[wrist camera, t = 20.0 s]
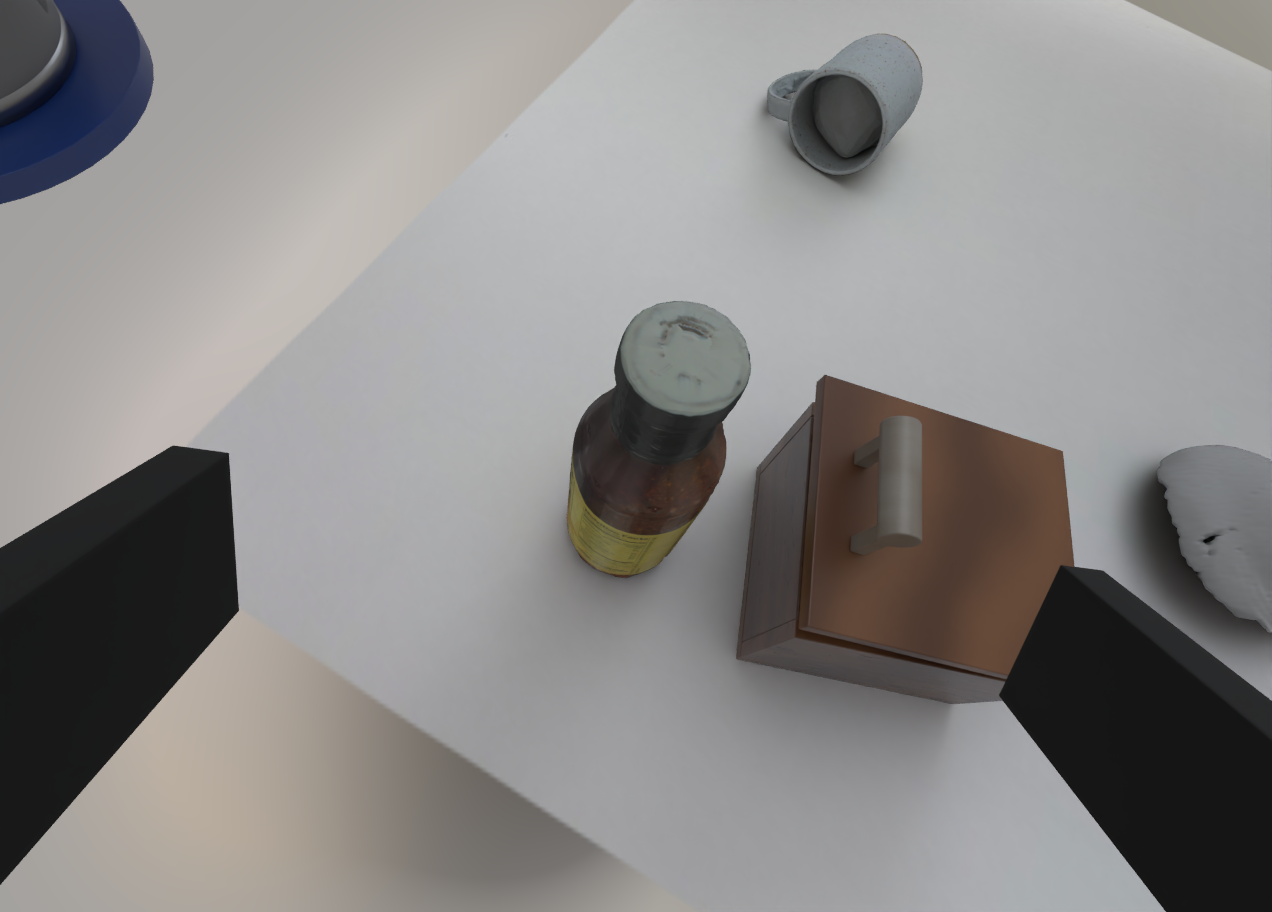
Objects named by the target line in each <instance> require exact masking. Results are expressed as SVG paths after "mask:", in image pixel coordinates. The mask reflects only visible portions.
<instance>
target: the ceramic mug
mask: <svg viewBox="0 0 1272 912" xmlns="http://www.w3.org/2000/svg"><path fill="white" fill-rule="evenodd" d="M922 82H923V78H922V68H921V64H920V61H919V59H918V56H917V55H916V53H915V52H914V50H913V49H912V48H911V47H910V46H909V45H908V44H907V43H906V42H905V41H903V40H901V39H900V38H898V37H896V36H892V35H888V34H874V35H869V36H866V37H863V38H861V39H859V40H856V41H854V42H853V43H851V44H850V45H848V46H847V47H846V48H844V49H843V50H841V51H840V52H839V53H838V54H837V55H836V56H835V57H834V58H833V59H831V60H830V61H829V62H827V63H826V64H824V65H823V66H822V67H820V68H819V69H818V70H803V71H799V72H794V73H791V74H788V75H785V76H783V77H781V78H779V79H778V80H776V81H775V82H773V83H772V84H771V85H770V87H769V88H768V94H767V98H768V110H769V112H770V114H772V116H774V117H776V118H778V119H781V120H784V121H787V122H789V130H790V135H791V138H792V141H793V143H794V145H795V147H796V149H797V151H798V152H799V153H800V154H801V156H802V157H803V158H804V159H805V160H806V161H807V162H808V163H809V164H811V165H812V166H813V167H815V168H817V169H818V170H820V171H822V172H824V173H828V174H833V175H847V174H852V173H855V172H857V171H860V170H862V169H863V168H865V167H867V166H868V165H869V164H870V163H871V162H872V161H873V160H874V159H875V158H876V157H877V156H878V155H879V153H880V152H881V151H882V150H883V148H884V147H885V146H886V145H887V144H888V143H889V141H890V140H891V139H892V138H893V137H894V135H895V134H896V133H897V131H898V130H899V129H900V128H901V127H902V126H903V125H904V123H905V122H906V121H907V120H908V119H909V117H910V116H911V114H912V113H913V111H914V109H915V107H916V105H917V102H918V100H919V97H920V94H921V90H922ZM793 92H796V93H795V94H794V96H793V98H792V100H787V99H784V98H783V97H784V96H786V95H787V94H790V93H793Z"/></svg>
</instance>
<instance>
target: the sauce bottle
mask: <svg viewBox="0 0 1272 912" xmlns="http://www.w3.org/2000/svg"><path fill="white" fill-rule="evenodd" d="M750 369H751V364H750V354H749V351H748V348H747V345H746V341H745V339H744V337H743V336H742V334H741V333H740V331H739V330H738V328H737V327H736V326H735V325H734V324H733V323H732V322H731V321H730V320H729V319H728V318H727V317H726V316H724V315H723V314H721V313H720V312H718V311H717V310H715V309H713V308H710V307H708V306H707V305H703V304H699V303H693V302H683V301H673V302H666V303H660V304H656V305H654V306H652V307H650V308H647V309H645V310H643V311H642V312H641V313H640V314H638V315H637V316H635V317H634V319H633V320H632V321H631V322H630V324H629V325H628V327H627V328H626V330H625V332H624V334H623V336H622V339H621V342H620V345H619V349H618V351H617V355H616V361H615V367H614V373H615V381H616V386H615V388H613V389H611V390H610V391H608V392H607V393H605V394H603V395H601V396H600V397H599V398H598V399H597V400H595V401H594V402H593V403H592V404H591V405H590V406H589V407H588V409H587V410H586V412H585V413H584V415H583V416H582V418H581V420H580V422H579V425H578V427H577V430H576V433H575V437H574V443H573V452H572V463H571V472H570V488H569V497H568V510H567V526H568V532H569V535H570V538H571V540H572V542H573V544H574V546H575V548H576V549H577V551H578V553H579V555H580V557H581V558H582V559H583V560H584V561H585V562H586V563H588V564H589V565H591V566H592V567H593V568H596V569H598V570H599V571H601V572H604V573H608V574H611V575H614V576H616V577H629V576H631V575H636V574H639V573H642V572H644V571H647V570H649V569H651V568H653V567H655V566H656V565H658V564H659V563H660V562H661V561H662V560H663V558H664V557H665V556H667V555H668V554H669V553H670V552H671V550H672V549H673V548H674V547H675V545H676V544H677V543H678V541H679V540H680V539H681V537H682V536H683V535H684V533H685V532H686V531H687V529H688V528H689V526H690V525H691V524H692V522H693V521H694V520H695V518H696V517H697V516H698V514H699V513H700V512H701V510H702V509H703V508H704V506H705V505H706V503H707V501H708V500H709V497H710V495H711V494H712V493H713V491H714V489H715V487H716V485H717V484H718V482H719V479H720V477H721V475H722V472H723V469H724V466H725V459H726V439H725V436H724V430H723V424H722V421H724V419H725V418H726V417H727V415H728V414H729V412H730V411H731V410H732V409H733V408H734V406H735V405H736V403H737V402H738V400H739V399H740V397H741V395H742V393H743V392H744V390H745V388H746V386H747V384H748V380H749V376H750Z"/></svg>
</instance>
